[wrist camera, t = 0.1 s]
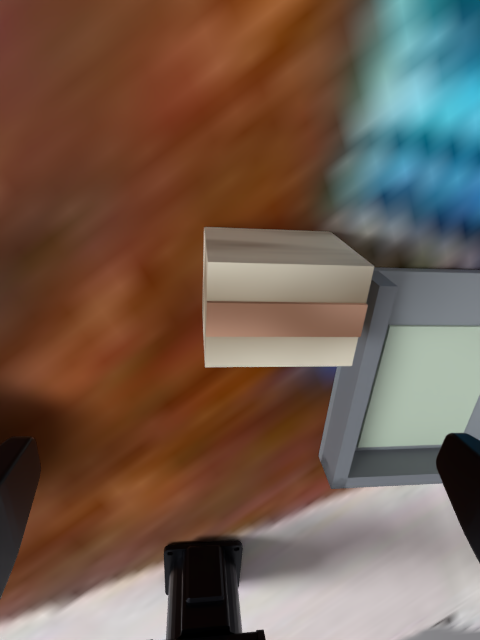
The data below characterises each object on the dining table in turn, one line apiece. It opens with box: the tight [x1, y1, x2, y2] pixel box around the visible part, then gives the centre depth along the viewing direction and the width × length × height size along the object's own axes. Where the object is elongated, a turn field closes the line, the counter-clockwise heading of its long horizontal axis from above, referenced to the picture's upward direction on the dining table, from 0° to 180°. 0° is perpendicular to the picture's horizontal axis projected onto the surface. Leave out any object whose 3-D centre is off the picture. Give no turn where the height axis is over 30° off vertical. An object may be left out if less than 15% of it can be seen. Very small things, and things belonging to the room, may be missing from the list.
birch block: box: [202, 227, 374, 367], centre depth 20 cm, size 5×7×6 cm
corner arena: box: [319, 267, 480, 489], centre depth 26 cm, size 15×17×3 cm
